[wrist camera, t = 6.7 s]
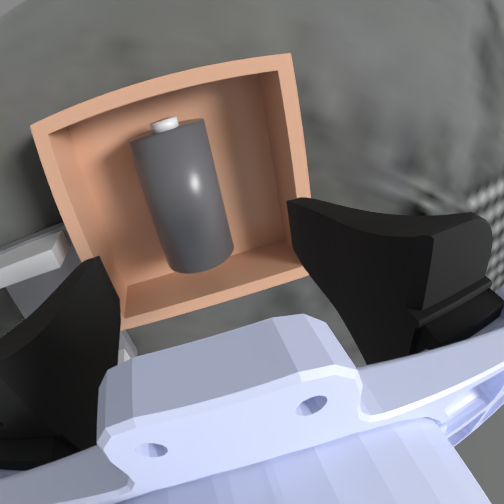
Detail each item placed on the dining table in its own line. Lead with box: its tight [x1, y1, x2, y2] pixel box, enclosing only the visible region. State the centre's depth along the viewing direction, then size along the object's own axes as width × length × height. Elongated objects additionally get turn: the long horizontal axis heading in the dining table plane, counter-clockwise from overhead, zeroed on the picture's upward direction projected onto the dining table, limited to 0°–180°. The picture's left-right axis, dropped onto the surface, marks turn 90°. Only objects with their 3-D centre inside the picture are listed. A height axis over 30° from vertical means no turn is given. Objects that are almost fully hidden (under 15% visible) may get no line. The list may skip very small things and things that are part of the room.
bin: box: [30, 53, 311, 331], centre depth 17 cm, size 13×13×4 cm
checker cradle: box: [0, 222, 138, 365], centre depth 19 cm, size 12×7×4 cm, turn 10°
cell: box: [128, 116, 234, 274], centre depth 17 cm, size 8×4×4 cm, turn 10°
